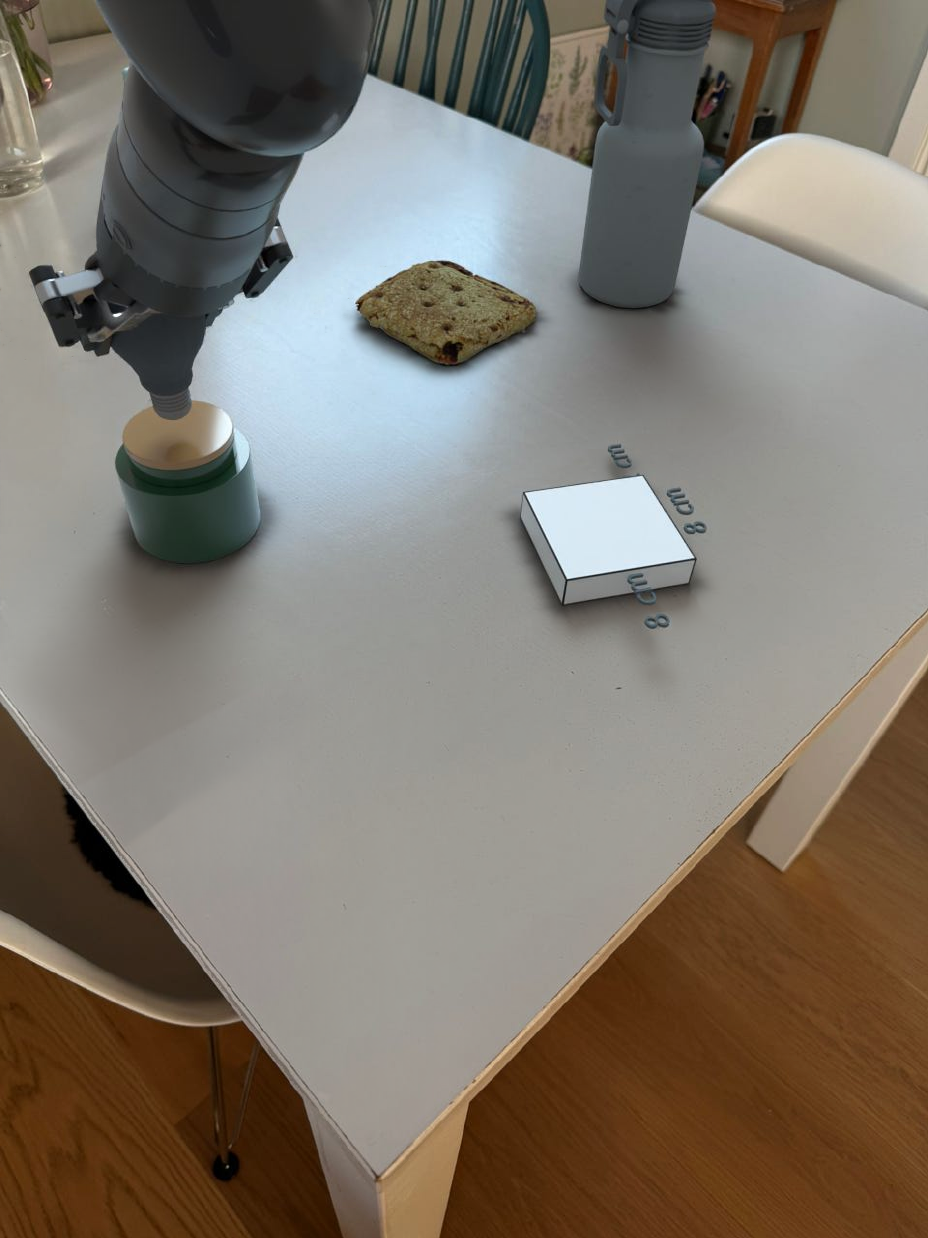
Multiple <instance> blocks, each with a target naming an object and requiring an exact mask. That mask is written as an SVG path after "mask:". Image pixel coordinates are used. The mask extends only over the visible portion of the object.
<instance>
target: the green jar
mask: <svg viewBox="0 0 928 1238" xmlns="http://www.w3.org/2000/svg"><path fill="white" fill-rule="evenodd" d="M191 401H192V406H191V409H190V412H189V413H188V414H187V415H186V416H184V417H183V418H181V419H178V420H167V419H164V418H162V417H160V416H159V415H157V413H156V412H155V411H154V408H153V405H151V406H148V407H147V408H145V409H142V410H141V411H139V412H137V413H136V414H135V415H133V417H131V418H130V419H129V420H128V422H127V423H126V424H125V426H124V427H123V430H122V434H121V439H122V443H121V445H120V447H119V448H118V450H117V452H116V455H115V457H114V468H115V472H116V475H117V478H118V482H119V485H120V489H121V493H122V497H123V500H124V503H125V507H126V510H127V513H128V517H129V521H130V524H131V527H132V530H133V531H132V532H133V534H134V538H135V539H136V542H137V543H138V545H139V546H140V547H141V548H142V549H143V550H144V551H145V552H146V553H148V554H149V555H151V556H152V557H154V558H157V559H159V560H162V561H165V562H171V563H176V564H201V563H207V562H211V561H215V560H218V559H221V558H225V557H227V556H229V555H232V554H233V553H235V552H237V551H238V550H240V549H241V548H243V547H244V546H245V545H247V543H249V542H250V541H251V540H252V538H253V537H254V536H255V534H256V533H257V531H258V530H259V526H260V523H261V509H260V502H259V497H258V496H259V495H258V489H257V483H256V477H255V470H254V464H253V457H252V450H251V446H250V445H251V444H250V442H249V440H248V438H247V437H246V436H245V434H244V433H243V432H242V431H241V430H240V429H238V428H236V426H234V423H233V420H232V418H231V416H230V415H229V414H228V413H227V412H226V411H225V410H224V409H222V408H221V407H219V406H217V405H215V404H212V403H210V402H205V401H202V400H201V401H200V400H196V399H195V400H194V399H191Z"/></svg>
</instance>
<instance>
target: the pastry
mask: <svg viewBox="0 0 928 1238" xmlns="http://www.w3.org/2000/svg"><path fill="white" fill-rule="evenodd" d="M354 305H356V307H355V308H356V311H357V312H359V315H362V317H364V318H365V319H366V320H367V321H369V324H370V327H374V328H378V329H379V328H380V329H382V330H383V332H384V333H385V334H386V335H388V336H389V337H391V338H393V339H396V340H397V341H399V342H400V343H403V344H405V345H407V346H409V347H410V348H412V349H413V351H415V352H418V354H420V355H421V356H424V357H425V358H427V359H428V360H430V361H431V362H434V363H436V364H442V365H446V366H450V365H452V366H453V365H458V364H461V363H464V362H466V361H468V360H469V359H471V357H475V356H476V355H477V354H478V353H480V352H481V351H482V350H486V348H487V347H488V348H489V347H490V346H492V345H494V344H498V343H500V342H502V341H507V340H508V339H510V336H512V335H513V334H518V333H524V334H525V333H526V330H525V329H526V328H527V327H528V326H529V325H530V324H532V323H534V322H535V320H536V319H537V316H538V312H537V308H536V305H535V303H533V301H530V299H529V298H527V297H526V296H522V295H521V294H519V293H517V292H516V291H514V290H512V289H510V288H508V287H506V286H505V285H503V284H500V283H499V282H497V281H493V280H491V279H488V278H485V277H483V276H480V275H479V274H473V272H472V271H470V270H468V269H467V268H465V267H464V266H463V265H461V264H459V263H457V262H453V261H451V260H427V261H424V262H422V263H416V264H412V265H411V267H409V268H407V269H403V270H401V271H399V272H397V273H396V274H395V275H393V276H390V277H388V278H386V279H384V281H382V282H381V283H380V284H376V286H375V287H374V288H373V289H368V291H367V292H365V293H364V294H362V295H361V296H360V297H358V299H356V301H355V303H354Z"/></svg>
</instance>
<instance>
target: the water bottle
mask: <svg viewBox="0 0 928 1238" xmlns="http://www.w3.org/2000/svg"><path fill="white" fill-rule="evenodd" d="M604 5H605V6H604V12H603V13H604V14H603V19H604V21H605V22H606V23H607V24H608V25H609V32H608V40H607V45H603V46H601V48H600V51H599V54H598V61H597V69H596V77H595V85H594V94H593V102H594V108H595V110H596V111H597V112H598V114H599V115H600V116H601V118H602V119H603V120H604V122H603V123H602V125H601V126H600V128H599V129H598V132H597V135H596V138H595V145H594V151H593V160H592V168H591V174H590V184H589V191H588V199H587V205H586V214H585V223H584V229H583V235H582V245H581V252H580V260H579V268H578V282H579V285H580V286H581V288H582V289H583V291H584V292H585V293H586V294H587V295H588V296H590V297H591V298H593V299H594V300H596V301H599V302H601V303H604V304H606V305H609V306H613V307H618V308H619V307H620V308H627V309H639V308H640V309H641V308H647V307H652V306H655V305H658V304H660V303H663V302H664V301H665V300H667V299H668V298H669V297H670V296H671V295H672V294H673V292H674V290H675V287H676V283H677V279H678V274H679V271H680V265H681V260H682V255H683V250H684V246H685V240H686V237H687V231H688V227H689V222H690V217H691V212H692V207H693V203H694V197H695V193H696V188H697V183H698V179H699V175H700V169H701V165H702V160H703V156H704V149H705V141H704V137H703V133H702V132H701V130H700V129H699V127H698V126H697V125H696V123H694V122H693V120H692V117H693V113H694V108H695V102H696V99H697V92H698V87H699V83H700V77H701V72H702V67H703V62H704V56H705V52H706V51H707V50H708V49H709V47H710V40H711V37H712V32H713V26H714V21H715V16H716V11H717V8H716V5H715V4H714V3H713V2H712V0H605V4H604ZM625 42H626V44H627V47H626V54H625V59H624V57H623V54H624V49H625ZM609 60H610V61H611V62H612V63H613V65H615V68H616V72H617V83H616V89H615V96H614V97H615V98H614V105H613V110H612V111H610V109H609V108H608V107H607V106H606V104H605V99H604V98H605V97H604V89H605V81H606V74H607V66H608V61H609Z"/></svg>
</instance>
